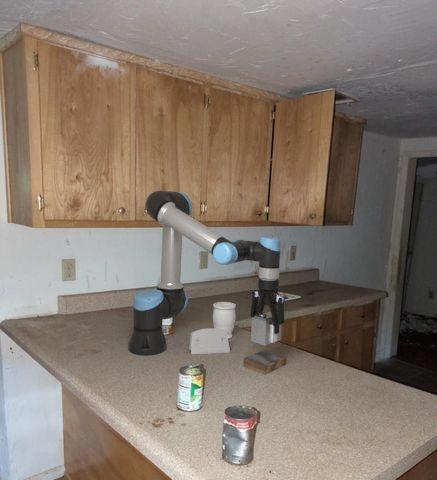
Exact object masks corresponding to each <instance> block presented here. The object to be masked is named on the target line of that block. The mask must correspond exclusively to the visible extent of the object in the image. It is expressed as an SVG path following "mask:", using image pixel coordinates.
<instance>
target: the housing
mask: <svg viewBox="0 0 437 480" xmlns="http://www.w3.org/2000/svg"><path fill="white" fill-rule="evenodd" d="M273 324H274V323H273V319H272V314H271V311H267V312H262V313H259V315H255V316H254V317H251V328H250V329H251V332H250V334H251V335H250V341H251V342H253V343H256V344H260V345H262V346H267V345H271V344H273V343H272V342H271V331H272V325H273ZM282 325H283V324H281V325H279V333H278V334H277V341H276V342H278V341H280V340H282Z"/></svg>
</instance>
